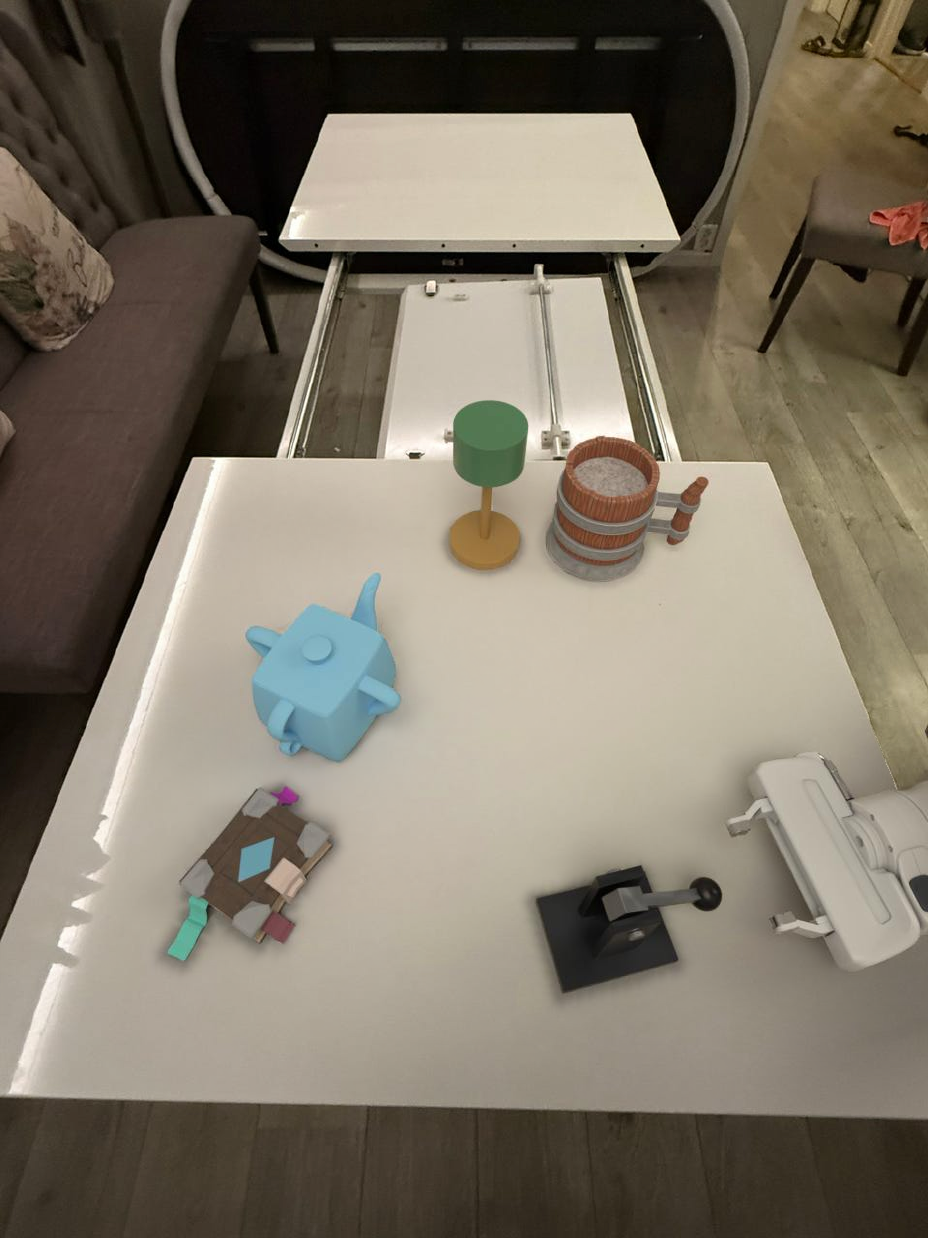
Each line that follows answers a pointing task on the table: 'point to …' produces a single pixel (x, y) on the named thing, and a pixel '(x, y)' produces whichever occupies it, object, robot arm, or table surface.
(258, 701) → the teapot
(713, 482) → the table surface
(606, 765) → the table surface
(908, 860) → the robot arm
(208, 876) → the book
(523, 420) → the lamp
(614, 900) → the lever
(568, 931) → the switch bracket
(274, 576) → the table surface
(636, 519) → the mug
